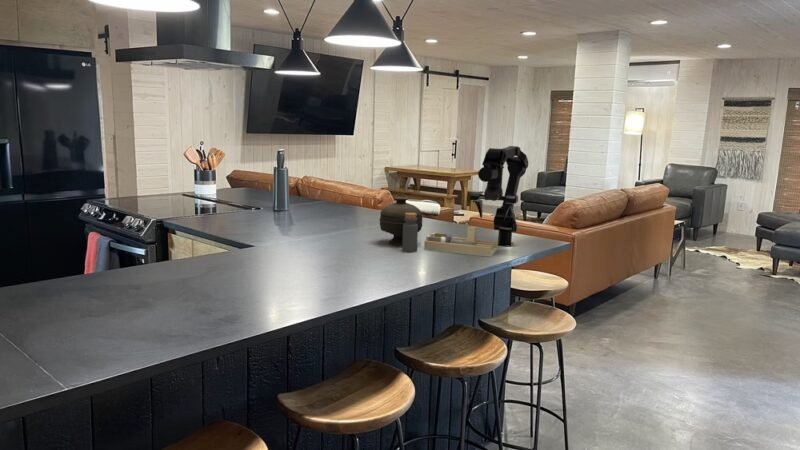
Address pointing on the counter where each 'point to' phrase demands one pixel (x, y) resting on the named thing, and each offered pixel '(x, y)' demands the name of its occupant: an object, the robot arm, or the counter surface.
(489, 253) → the pitch
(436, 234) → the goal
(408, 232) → the bottle
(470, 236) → the tan and grey block
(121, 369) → the counter surface
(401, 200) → the pot
